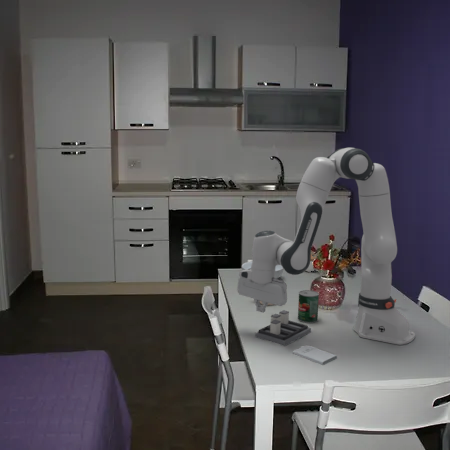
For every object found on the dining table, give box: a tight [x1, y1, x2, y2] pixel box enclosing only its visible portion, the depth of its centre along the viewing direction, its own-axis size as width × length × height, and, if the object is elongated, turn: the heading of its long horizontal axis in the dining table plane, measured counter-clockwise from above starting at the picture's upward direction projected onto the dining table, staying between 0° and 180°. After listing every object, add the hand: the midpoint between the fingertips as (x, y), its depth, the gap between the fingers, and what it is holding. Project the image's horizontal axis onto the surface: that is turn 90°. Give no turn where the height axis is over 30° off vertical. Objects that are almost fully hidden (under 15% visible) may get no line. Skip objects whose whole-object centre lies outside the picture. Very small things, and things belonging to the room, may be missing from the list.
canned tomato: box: [297, 289, 320, 324], centre depth 227 cm, size 8×8×11 cm
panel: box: [254, 320, 312, 347], centre depth 211 cm, size 13×18×2 cm
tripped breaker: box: [269, 320, 281, 335], centre depth 207 cm, size 2×3×5 cm
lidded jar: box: [306, 253, 316, 273], centre depth 300 cm, size 11×11×9 cm
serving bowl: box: [241, 260, 284, 279], centre depth 283 cm, size 21×21×7 cm
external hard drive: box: [292, 344, 338, 366], centre depth 193 cm, size 2×8×12 cm
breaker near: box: [278, 309, 290, 324], centre depth 217 cm, size 2×3×5 cm
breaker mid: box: [270, 313, 281, 327], centre depth 213 cm, size 2×3×5 cm
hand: (260, 311), depth 210 cm, fingers closed
